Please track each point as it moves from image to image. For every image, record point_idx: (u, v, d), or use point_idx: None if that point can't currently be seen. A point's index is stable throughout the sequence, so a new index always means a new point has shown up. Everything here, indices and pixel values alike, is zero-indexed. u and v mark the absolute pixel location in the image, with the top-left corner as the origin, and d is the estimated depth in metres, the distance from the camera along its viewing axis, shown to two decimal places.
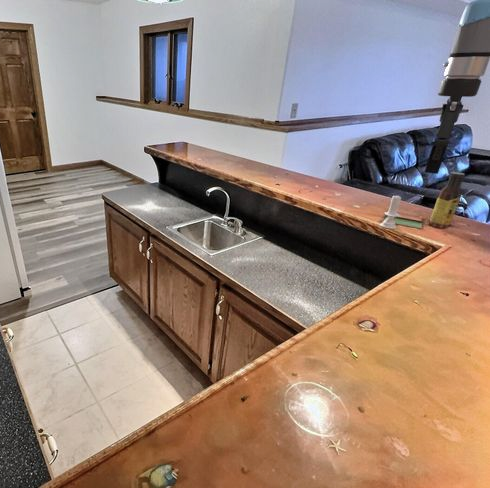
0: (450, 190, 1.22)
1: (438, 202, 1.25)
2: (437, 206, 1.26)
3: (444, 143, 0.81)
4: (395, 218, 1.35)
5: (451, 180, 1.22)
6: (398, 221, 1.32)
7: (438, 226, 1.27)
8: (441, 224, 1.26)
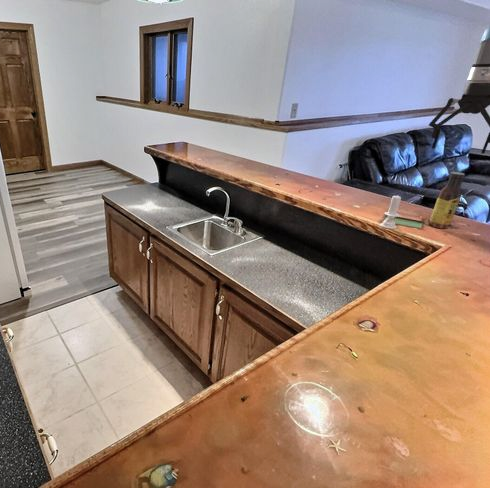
0: (450, 190, 1.22)
1: (438, 202, 1.25)
2: (437, 206, 1.26)
3: None
4: (395, 218, 1.35)
5: (451, 180, 1.22)
6: (398, 221, 1.32)
7: (438, 226, 1.27)
8: (441, 224, 1.26)
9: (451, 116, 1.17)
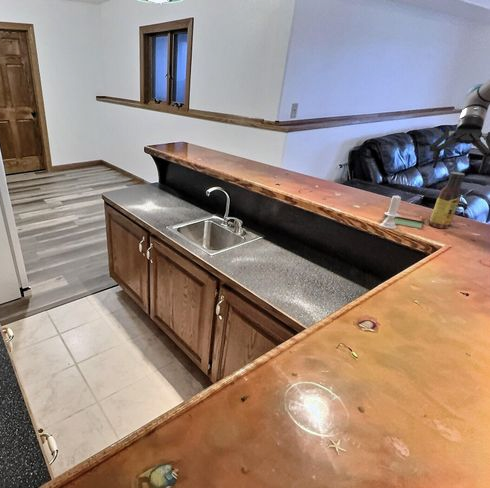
0: (450, 190, 1.22)
1: (438, 202, 1.25)
2: (437, 206, 1.26)
3: None
4: (395, 218, 1.35)
5: (451, 180, 1.22)
6: (398, 221, 1.32)
7: (438, 226, 1.27)
8: (441, 224, 1.26)
9: (449, 141, 1.32)
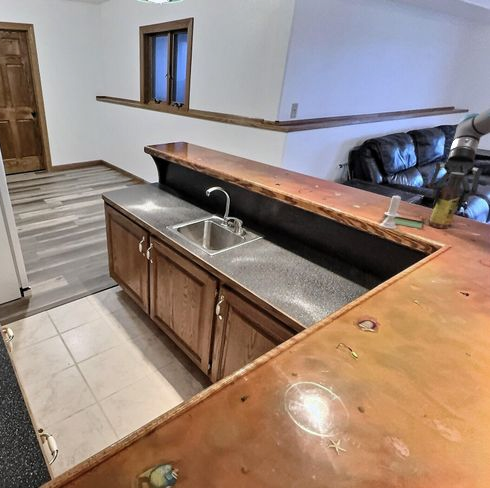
0: (450, 190, 1.22)
1: (438, 202, 1.25)
2: (437, 206, 1.26)
3: None
4: (395, 218, 1.35)
5: (451, 180, 1.22)
6: (398, 221, 1.32)
7: (438, 226, 1.27)
8: (442, 224, 1.26)
9: (445, 176, 1.26)
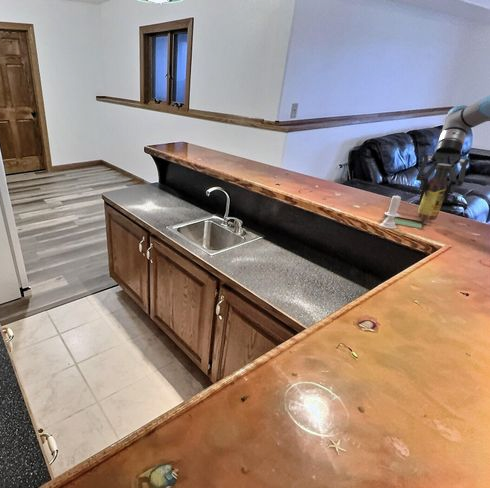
0: (437, 182, 1.23)
1: (425, 193, 1.26)
2: (424, 198, 1.27)
3: None
4: (395, 218, 1.35)
5: (438, 171, 1.22)
6: (398, 221, 1.32)
7: (425, 217, 1.27)
8: (429, 215, 1.27)
9: (433, 168, 1.27)
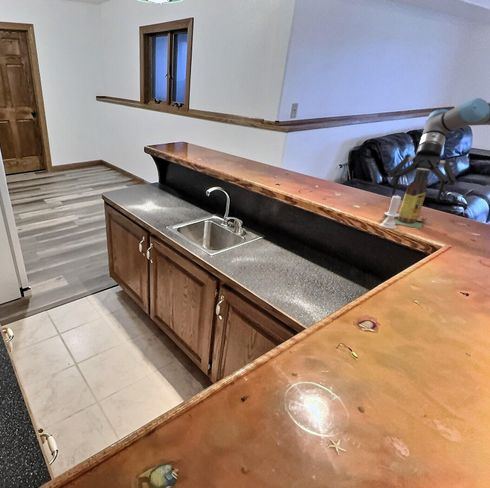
0: (416, 186, 1.26)
1: (405, 197, 1.29)
2: (404, 201, 1.30)
3: None
4: (395, 218, 1.35)
5: (417, 175, 1.25)
6: (398, 221, 1.32)
7: (405, 220, 1.30)
8: (409, 219, 1.30)
9: (408, 167, 1.31)
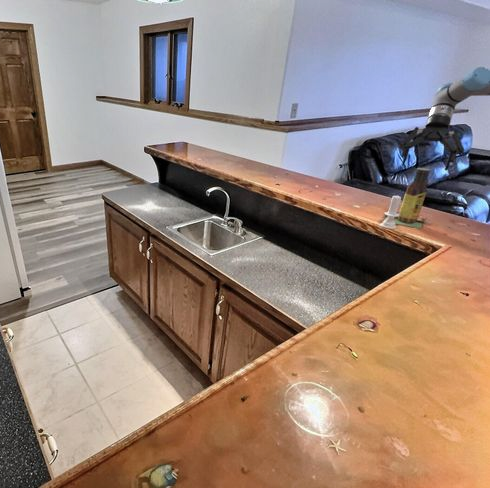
0: (416, 186, 1.26)
1: (405, 197, 1.29)
2: (404, 201, 1.30)
3: None
4: (395, 218, 1.35)
5: (417, 175, 1.25)
6: (398, 221, 1.32)
7: (405, 220, 1.30)
8: (409, 219, 1.30)
9: (418, 139, 1.36)
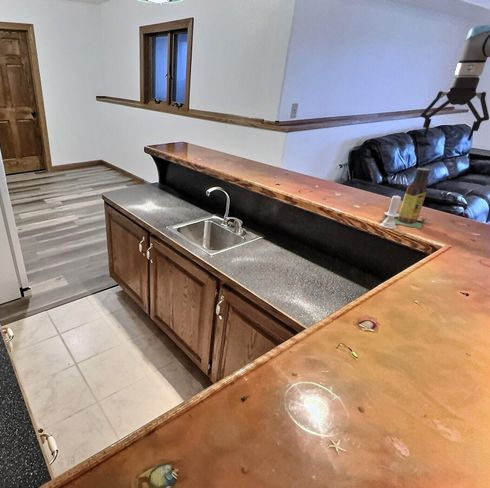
0: (416, 186, 1.26)
1: (405, 197, 1.29)
2: (404, 201, 1.30)
3: None
4: (395, 218, 1.35)
5: (417, 175, 1.25)
6: (398, 221, 1.32)
7: (405, 220, 1.30)
8: (409, 219, 1.30)
9: (441, 107, 1.30)
